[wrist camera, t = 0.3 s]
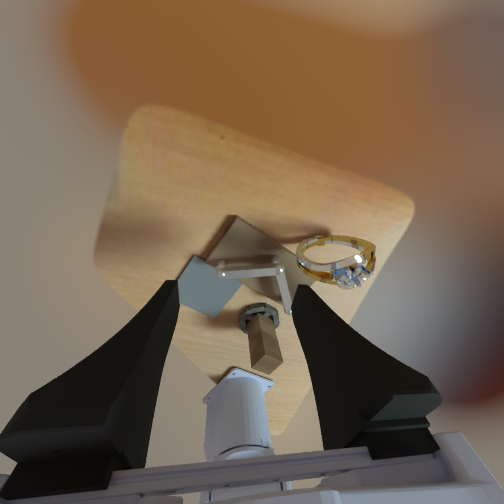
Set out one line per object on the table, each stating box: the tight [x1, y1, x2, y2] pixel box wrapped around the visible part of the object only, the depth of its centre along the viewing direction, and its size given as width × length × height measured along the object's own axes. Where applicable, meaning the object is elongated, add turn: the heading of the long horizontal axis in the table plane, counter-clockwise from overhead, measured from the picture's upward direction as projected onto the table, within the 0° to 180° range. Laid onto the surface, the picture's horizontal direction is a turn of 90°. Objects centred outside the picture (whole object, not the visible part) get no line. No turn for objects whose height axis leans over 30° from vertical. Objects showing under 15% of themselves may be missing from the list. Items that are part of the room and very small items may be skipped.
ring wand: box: [239, 303, 283, 375], centre depth 25 cm, size 5×5×7 cm
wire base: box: [205, 216, 316, 305], centre depth 24 cm, size 6×12×1 cm, turn 54°
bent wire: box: [216, 255, 292, 315], centre depth 23 cm, size 5×10×4 cm, turn 54°
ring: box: [296, 235, 376, 289], centre depth 20 cm, size 7×3×8 cm, turn 95°
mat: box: [178, 255, 243, 318], centre depth 25 cm, size 6×6×1 cm
